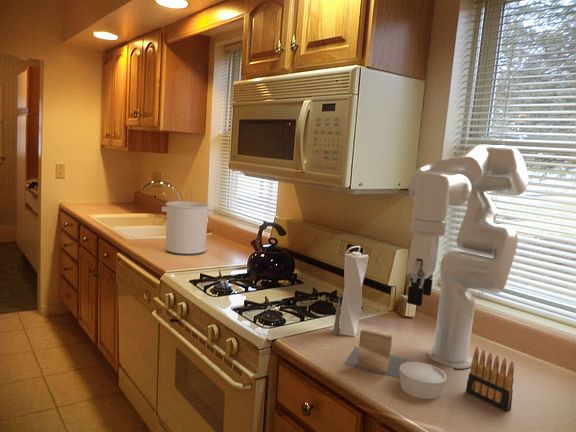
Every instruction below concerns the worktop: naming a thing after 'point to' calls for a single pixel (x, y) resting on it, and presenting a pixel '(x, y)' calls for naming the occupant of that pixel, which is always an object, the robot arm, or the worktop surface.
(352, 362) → the mat
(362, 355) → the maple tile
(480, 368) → the ammunition clip
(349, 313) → the skyscraper
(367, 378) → the worktop surface
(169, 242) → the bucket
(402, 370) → the ramekin
